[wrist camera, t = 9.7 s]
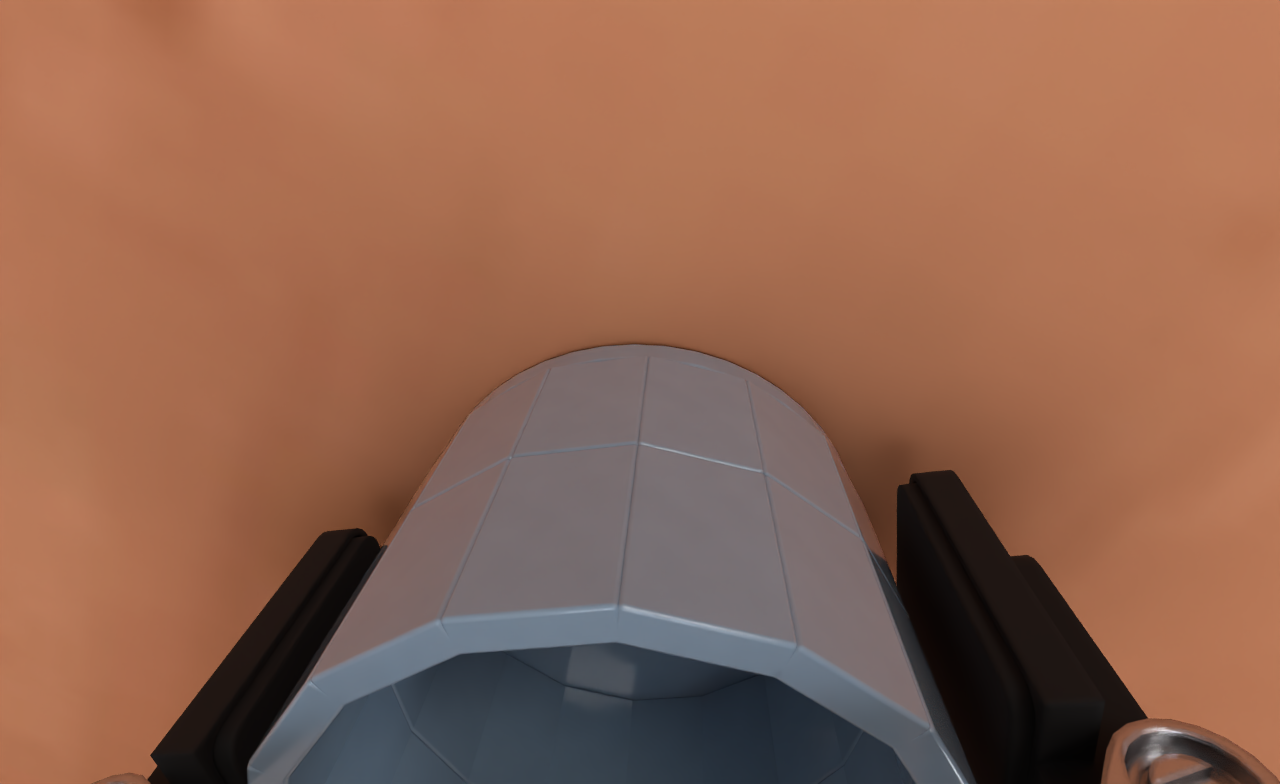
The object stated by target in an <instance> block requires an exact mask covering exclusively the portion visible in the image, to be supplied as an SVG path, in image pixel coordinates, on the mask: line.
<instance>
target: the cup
mask: <svg viewBox="0 0 1280 784" xmlns="http://www.w3.org/2000/svg"><path fill="white" fill-rule="evenodd" d="M247 783H248V784H977V783H976V781H975V778H974V776H973V774H972V771H971V769H970V766H969V764H968V761H967V759H966V756H965V754H964V751H963V749H962V746H961V744H960V741H959V739H958V737H957V734H956V732H955V729H954V727H953V724H952V722H951V719H950V717H949V714H948V712H947V709H946V707H945V704H944V702H943V699H942V697H941V695H940V692H939V690H938V687H937V685H936V682H935V680H934V677H933V675H932V672H931V670H930V667H929V665H928V662H927V660H926V658H925V655H924V653H923V650H922V648H921V645H920V643H919V640H918V638H917V635H916V633H915V630H914V628H913V625H912V623H911V621H910V619H909V616H908V613H907V611H906V608H905V606H904V603H903V601H902V598H901V596H900V593H899V591H898V588H897V586H896V583H895V581H894V579H893V576H892V574H891V571H890V569H889V566H888V564H887V561H886V559H885V556H884V554H883V551H882V549H881V546H880V544H879V541H878V539H877V537H876V534H875V532H874V529H873V527H872V524H871V522H870V519H869V517H868V514H867V512H866V509H865V507H864V504H863V502H862V500H861V499H860V497H859V495H858V493H857V492H856V490H855V488H854V486H853V485H852V483H851V481H850V479H849V476H848V474H847V472H846V469H845V467H844V465H843V463H842V461H841V459H840V457H839V454H838V452H837V450H836V449H835V447H834V446H833V444H832V443H831V441H830V440H829V438H828V437H827V435H826V434H825V432H824V431H823V429H822V428H821V427H820V426H819V425H818V424H817V423H816V421H815V420H814V419H813V418H812V417H811V416H810V415H809V414H808V413H807V412H806V410H805V409H804V408H803V407H801V406H800V405H799V404H798V403H797V402H795V401H794V400H793V399H792V398H791V397H789V396H788V395H787V394H786V393H784V392H783V391H782V390H781V389H779V388H778V387H776V386H774V385H773V384H771V383H769V382H768V381H766V380H765V379H763V378H761V377H760V376H758V375H757V374H755V373H753V372H750V371H748V370H746V369H744V368H742V367H739V366H737V365H735V364H733V363H731V362H728V361H726V360H722V359H719V358H716V357H713V356H709V355H706V354H703V353H700V352H696V351H690V350H685V349H679V348H674V347H668V346H655V345H637V344H631V345H616V346H602V347H597V348H592V349H587V350H581V351H576V352H572V353H568V354H565V355H562V356H559V357H556V358H553V359H550V360H547V361H544V362H542V363H540V364H538V365H536V366H534V367H532V368H530V369H527V370H525V371H523V372H521V373H519V374H517V375H516V376H514V377H513V378H511V379H510V380H508V381H507V382H505V383H504V384H502V385H501V386H499V387H498V388H496V389H495V390H494V391H493V392H491V393H490V394H489V395H488V396H487V397H486V398H485V399H484V400H483V401H481V402H480V403H479V404H478V405H477V406H476V407H475V408H474V409H473V410H472V412H471V413H470V414H469V415H468V416H467V418H466V419H465V420H464V421H463V423H462V424H461V425H460V426H459V428H458V429H457V431H456V432H455V434H454V436H453V437H452V439H451V440H450V442H449V444H448V445H447V447H446V448H445V450H444V451H443V453H442V454H441V455H440V457H439V458H438V460H437V461H436V463H435V464H434V465H433V467H432V468H431V470H430V471H429V473H428V474H427V476H426V477H425V479H424V480H423V482H422V484H421V485H420V487H419V488H418V490H417V492H416V493H415V495H414V496H413V498H412V500H411V501H410V503H409V504H408V506H407V508H406V509H405V511H404V512H403V514H402V516H401V517H400V519H399V520H398V522H397V524H396V525H395V527H394V528H393V530H392V532H391V533H390V535H389V536H388V538H387V540H386V541H385V543H384V544H383V546H382V548H381V549H380V551H379V552H378V554H377V556H376V557H375V559H374V560H373V562H372V564H371V565H370V567H369V568H368V570H367V572H366V573H365V575H364V576H363V579H362V580H361V582H360V583H359V585H358V586H357V588H356V589H355V591H354V593H353V594H352V596H351V597H350V599H349V601H348V602H347V604H346V605H345V607H344V609H343V610H342V612H341V613H340V615H339V617H338V618H337V620H336V621H335V623H334V625H333V626H332V628H331V629H330V631H329V633H328V634H327V636H326V637H325V639H324V641H323V642H322V644H321V645H320V647H319V649H318V650H317V652H316V653H315V655H314V657H313V658H312V660H311V661H310V663H309V665H308V666H307V668H306V669H305V671H304V673H303V674H302V676H301V677H300V679H299V681H298V682H297V684H296V685H295V687H294V689H293V690H292V692H291V693H290V695H289V697H288V698H287V700H286V701H285V703H284V705H283V706H282V708H281V709H280V711H279V713H278V714H277V716H276V717H275V719H274V721H273V722H272V724H271V725H270V727H269V729H268V730H267V732H266V733H265V735H264V737H263V738H262V740H261V741H260V743H259V745H258V746H257V748H256V749H255V751H254V753H253V754H252V756H251V757H250V759H249V764H248V766H247Z"/></svg>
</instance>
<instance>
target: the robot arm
mask: <svg viewBox="0 0 1280 784" xmlns="http://www.w3.org/2000/svg"><path fill="white" fill-rule="evenodd" d="M379 551H380V547H379V544H378V542H377V540H376V539H375V538H374V537H372V536H368V535H367V534H366V532H365V531H363V530H362V529H359V528H356V529H346V530H336V531H327V532H324V533H322V534H321V535H320V536H319V537H318V538H317V540H316V541H315V542H314V543H313V545H312V546H311V547H310V549H309V550H308V551H307V553H306V554H305V555H304V556H303V558H302V559H301V560H300V562H299V563H298V564H297V566H296V567H295V568H294V569H293V571H292V572H291V573H290V575H289V576H288V577H287V578H286V580H285V581H284V582H283V584H282V585H281V586H280V588H279V589H278V590H277V591H276V593H275V594H274V595H273V597H272V598H271V599H270V601H269V602H268V603H267V604H266V606H265V607H264V608H263V610H262V611H261V612H260V614H259V615H258V616H257V617H256V619H255V620H254V621H253V623H252V624H251V625H250V627H249V628H248V629H247V630H246V632H245V633H244V634H243V636H242V637H241V638H240V640H239V641H238V642H237V643H236V645H235V646H234V647H233V649H232V650H231V651H230V653H229V654H228V655H227V656H226V658H225V659H224V660H223V662H222V663H221V664H220V666H219V667H218V668H217V669H216V671H215V672H214V673H213V675H212V676H211V677H210V678H209V680H208V681H207V682H206V684H205V685H204V686H203V688H202V689H201V690H200V691H199V693H198V694H197V695H196V697H195V698H194V699H193V701H192V702H191V703H190V704H189V706H188V707H187V708H186V710H185V711H184V712H183V714H182V715H181V716H180V717H179V719H178V720H177V721H176V723H175V724H174V725H173V727H172V728H171V729H170V730H169V732H168V733H167V734H166V736H165V737H164V738H163V740H162V741H161V742H160V743H159V745H158V746H157V747H156V749H155V750H154V751H153V753H152V754H151V755H150V756H151V757H152V758H153V760H154V761H155V763H156V764H157V768H156V769H155V770H154V772H153V773H152V774H151V776H150V777H149V778H148V780H147V779H146V778H145V777H144V776H143V775H138V774H133V773H125V774H119V775H113V776H110V777H107V778H105V779H102V780H100V781H97V782H95V783H92V784H248V783H247V766H248V764H249V759H250V757H251V756H252V754H253V753H254V751H255V749H256V748H257V746H258V745H259V743H260V741H261V740H262V738H263V737H264V735H265V733H266V732H267V730H268V729H269V727H270V725H271V724H272V722H273V721H274V719H275V717H276V716H277V714H278V713H279V711H280V709H281V708H282V706H283V705H284V703H285V701H286V700H287V698H288V697H289V695H290V693H291V692H292V690H293V689H294V687H295V685H296V684H297V682H298V681H299V679H300V677H301V676H302V674H303V673H304V671H305V669H306V668H307V666H308V665H309V663H310V661H311V660H312V658H313V657H314V655H315V653H316V652H317V650H318V649H319V647H320V645H321V644H322V642H323V641H324V639H325V637H326V636H327V634H328V633H329V631H330V629H331V628H332V626H333V625H334V623H335V621H336V620H337V618H338V617H339V615H340V613H341V612H342V610H343V609H344V607H345V605H346V604H347V602H348V601H349V599H350V597H351V596H352V594H353V593H354V591H355V589H356V588H357V586H358V585H359V583H360V582H361V580H362V579H363V576H364V575H365V573H366V572H367V570H368V568H369V567H370V565H371V564H372V562H373V560H374V559H375V557H376V556H377V554H378V552H379ZM897 588H898V591H899V593H900V596H901V598H902V601H903V603H904V606H905V608H906V611H907V613H908V616H909V619H910V621H911V623H912V625H913V628H914V630H915V633H916V635H917V638H918V640H919V643H920V645H921V648H922V650H923V653H924V655H925V658H926V660H927V662H928V665H929V667H930V670H931V672H932V675H933V677H934V680H935V682H936V685H937V687H938V690H939V692H940V695H941V697H942V699H943V702H944V704H945V707H946V709H947V712H948V714H949V717H950V719H951V722H952V724H953V727H954V729H955V732H956V734H957V737H958V739H959V741H960V744H961V746H962V749H963V751H964V754H965V756H966V759H967V761H968V764H969V766H970V769H971V771H972V774H973V776H974V778H975V781H976V783H977V784H1280V782H1279V780H1278V779H1277V777H1276V776H1275V775H1274V774H1273V773H1272V772H1270V771H1269V770H1268V769H1267V768H1266V767H1265V766H1264V765H1263V764H1262V763H1261V762H1260V761H1259V760H1258V759H1257V758H1255V757H1254V756H1253V755H1252V754H1250V753H1248V752H1247V751H1245V750H1244V749H1242V748H1241V747H1239V746H1238V745H1236V744H1235V743H1233V742H1232V741H1230V740H1228V739H1227V738H1225V737H1222V736H1220V735H1218V734H1216V733H1213V732H1211V731H1209V730H1206V729H1204V728H1202V727H1200V726H1196V725H1192V724H1188V723H1184V722H1180V721H1176V720H1172V719H1148V718H1147V716H1146V715H1145V713H1144V712H1143V710H1142V709H1141V708H1140V706H1139V705H1138V703H1137V702H1136V701H1135V699H1134V698H1133V696H1132V695H1131V693H1130V692H1129V691H1128V689H1127V688H1126V686H1125V685H1124V683H1123V682H1122V681H1121V679H1120V678H1119V676H1118V675H1117V674H1116V672H1115V671H1114V669H1113V668H1112V666H1111V665H1110V664H1109V662H1108V661H1107V659H1106V658H1105V657H1104V655H1103V654H1102V652H1101V651H1100V649H1099V648H1098V647H1097V645H1096V644H1095V642H1094V641H1093V639H1092V638H1091V637H1090V635H1089V634H1088V632H1087V631H1086V630H1085V628H1084V627H1083V625H1082V624H1081V622H1080V621H1079V620H1078V618H1077V617H1076V615H1075V614H1074V613H1073V611H1072V610H1071V608H1070V607H1069V605H1068V604H1067V603H1066V601H1065V600H1064V598H1063V597H1062V596H1061V594H1060V593H1059V591H1058V590H1057V588H1056V587H1055V586H1054V584H1053V583H1052V581H1051V580H1050V578H1049V577H1048V576H1047V574H1046V573H1045V571H1044V570H1043V569H1042V567H1041V566H1040V565H1039V564H1038V562H1037V561H1036V560H1035V559H1034V558H1032V557H1030V556H1028V555H1022V556H1010V555H1009V554H1008V552H1007V551H1006V549H1005V548H1004V546H1003V545H1002V543H1001V542H1000V540H999V539H998V537H997V536H996V534H995V532H994V531H993V529H992V528H991V526H990V525H989V523H988V522H987V520H986V519H985V517H984V516H983V514H982V513H981V511H980V510H979V508H978V507H977V505H976V504H975V502H974V500H973V499H972V497H971V496H970V494H969V493H968V491H967V490H966V488H965V487H964V485H963V484H962V482H961V481H960V479H959V478H958V476H957V475H956V473H955V472H954V471H952V470H945V471H935V472H925V473H915V474H912V475H911V477H910V481H909V484H903V485H899V486H898V489H897Z"/></svg>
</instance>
